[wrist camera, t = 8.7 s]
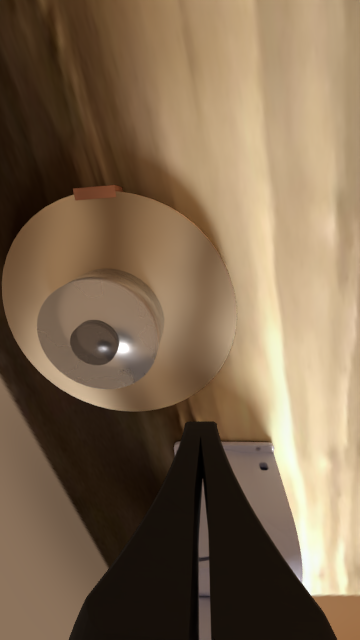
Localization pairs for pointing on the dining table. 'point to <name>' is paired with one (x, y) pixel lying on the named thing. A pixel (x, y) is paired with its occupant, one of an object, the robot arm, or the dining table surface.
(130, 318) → the cover
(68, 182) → the dining table surface
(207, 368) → the turntable
